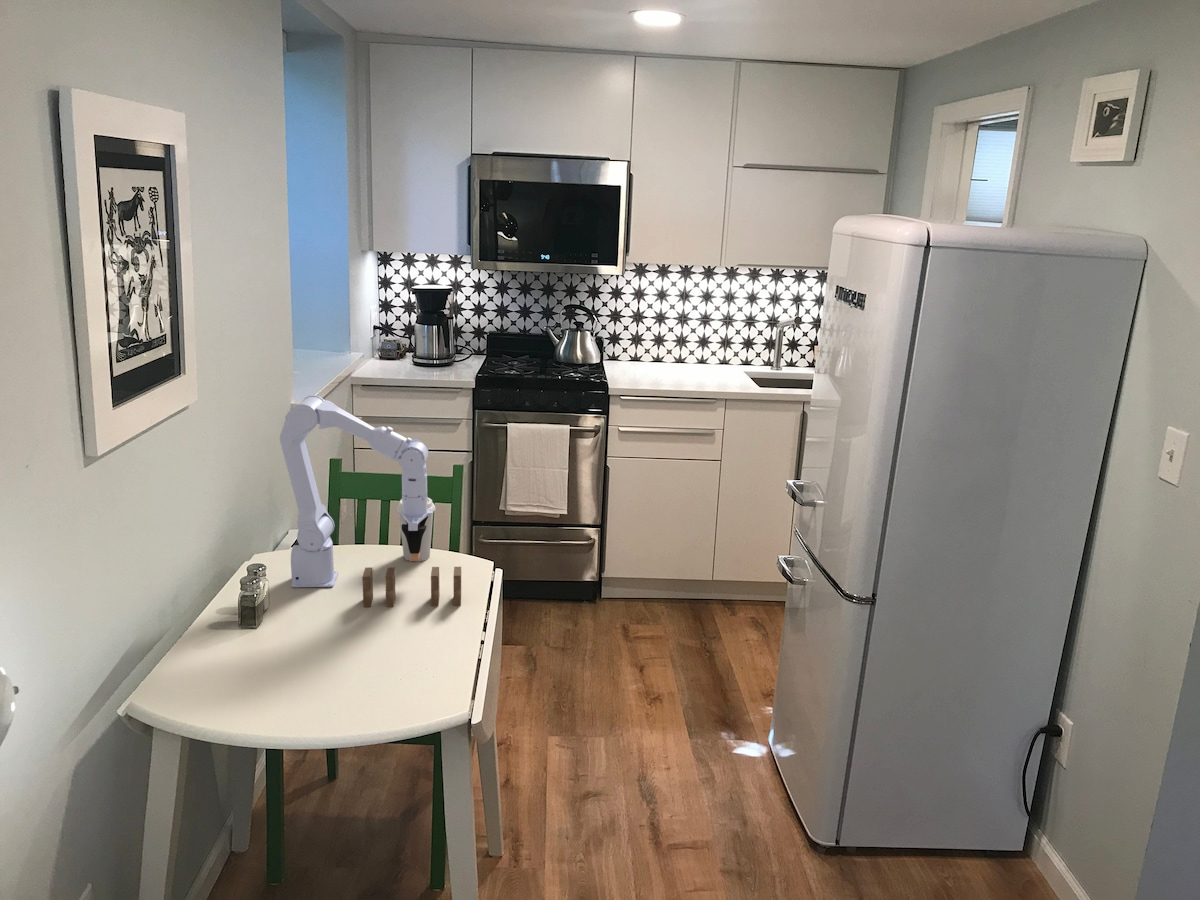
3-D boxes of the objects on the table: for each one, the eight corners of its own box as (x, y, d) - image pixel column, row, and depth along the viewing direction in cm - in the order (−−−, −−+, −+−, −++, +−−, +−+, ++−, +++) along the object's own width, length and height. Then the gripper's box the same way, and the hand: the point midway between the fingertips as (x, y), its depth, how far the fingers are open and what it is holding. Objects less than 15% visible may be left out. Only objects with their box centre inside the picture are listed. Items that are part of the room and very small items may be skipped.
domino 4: (431, 606, 212) (430, 575, 209) (432, 596, 216) (432, 566, 214) (438, 606, 212) (438, 575, 210) (439, 596, 216) (439, 566, 214)
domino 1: (363, 607, 210) (362, 576, 208) (366, 597, 214) (365, 567, 212) (370, 607, 210) (369, 576, 208) (373, 597, 215) (372, 567, 213)
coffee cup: (390, 560, 235) (389, 504, 231) (409, 547, 244) (407, 492, 239) (425, 566, 232) (424, 509, 228) (442, 552, 241) (441, 497, 237)
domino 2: (386, 607, 210) (385, 576, 208) (388, 597, 215) (387, 567, 213) (393, 606, 211) (392, 576, 208) (395, 597, 215) (394, 567, 213)
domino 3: (411, 561, 218) (411, 531, 216) (413, 552, 223) (412, 523, 221) (418, 561, 218) (418, 531, 216) (419, 552, 223) (419, 523, 221)
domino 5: (453, 606, 212) (453, 575, 210) (454, 596, 217) (454, 566, 215) (460, 606, 212) (460, 575, 210) (461, 596, 217) (461, 566, 215)
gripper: (430, 504, 210) (431, 560, 213) (433, 483, 223) (434, 536, 227) (398, 504, 209) (399, 560, 213) (403, 483, 222) (404, 536, 226)
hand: (415, 548), depth 220 cm, fingers closed on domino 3, 5 cm apart
